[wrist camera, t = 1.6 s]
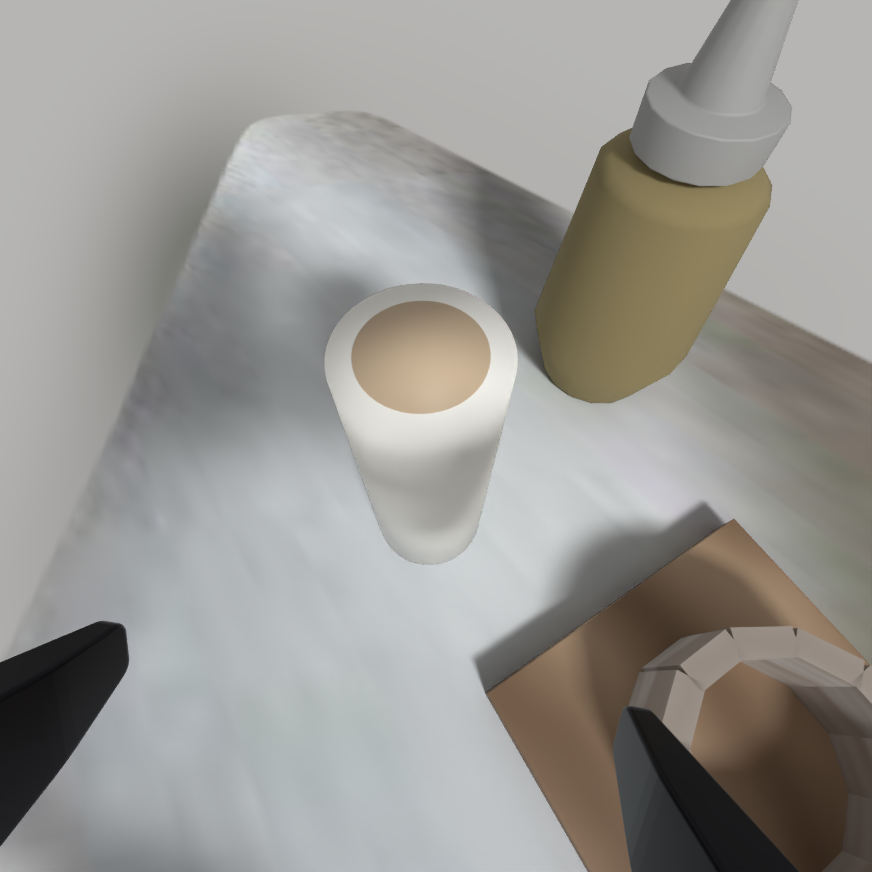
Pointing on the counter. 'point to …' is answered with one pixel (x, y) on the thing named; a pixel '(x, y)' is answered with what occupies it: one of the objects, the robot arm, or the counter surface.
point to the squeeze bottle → (667, 212)
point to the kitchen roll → (423, 410)
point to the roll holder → (707, 706)
